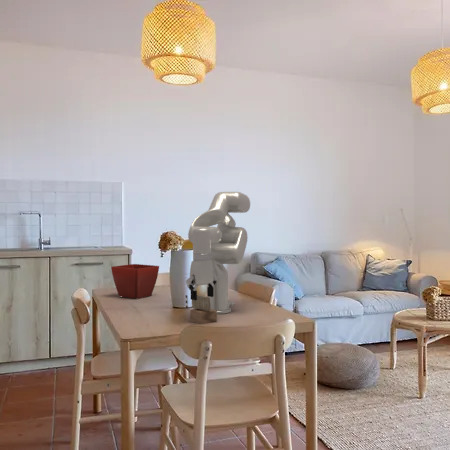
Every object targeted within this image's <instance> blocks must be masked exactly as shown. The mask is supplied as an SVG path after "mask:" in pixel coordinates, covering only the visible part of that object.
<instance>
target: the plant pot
mask: <svg viewBox="0 0 450 450" xmlns="http://www.w3.org/2000/svg"><path fill="white" fill-rule="evenodd" d="M159 269H160V265H151V264H140V263H139V264H138V263H132V264H123V265H122V264H121V265H115V266H111V275H112V279H113V282H114V285H115V289H116V291H117V295H118V297H119V296H122V297H121V298H125V297H129V298H128V299H132V298H138V299H142V298H141V297H143V298H147V297H146V296H148V297H151V296H152V294H153V293H154V292H153V291H154V289H155V286H156V283H157V279H158V274H159V272H160V271H159Z"/></svg>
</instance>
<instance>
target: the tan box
mask: <svg viewBox="0 0 450 450" xmlns="http://www.w3.org/2000/svg"><path fill="white" fill-rule="evenodd" d="M189 313H190V314H189V322H192V323H194V324H197V323H198V325H207V324H216V323H217V322H218V314H217V311H216V310H212V309H210V311H204V310H200V309H194V308H192V309H190V311H189Z"/></svg>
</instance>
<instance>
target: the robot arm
mask: <svg viewBox="0 0 450 450" xmlns="http://www.w3.org/2000/svg"><path fill="white" fill-rule="evenodd" d="M250 208H251V200H250V197H249V196H248V195H246V194H244V193H242V192H241V191H219V192H217V193H215V194H214V196H213V198H212V201H211V203H210V206H209V208H208V210H206V211H205V212H202V213H201V214H199V215H198V216H196V217H195V218H194V220H193V221H192V222H191V225H190V227H189V228H188V234H187V235H188V237H187V238H188V240H189V242H190V243H191V244H192V260H191V264H190V267H189V268H190V269H189V278H187V279H186V280H185V284H186V286H187V288H188V289H189V291H190V300H191V301H192V300H197V295H198V290H197V288H198V286H205V285H207V287H206V288H207V289H206V291H207V293H206V294H207V296H206V297H209V298H210V305H211V309H212V310H216V311H217V315H220V314H222V315H223V314H229V313H231V312H232V308H231V307H230V306H235V301H233V300H232V301H230V300H229V273H228V270H227V268H226V267H225V265H239V264H241V263H242V261H243V259H244V255H245V252H246V248H247V245H248V244H247V243H248V239H249V238H248V231H247V230H246V229H245V227H241V226H236V224H237V223H236V221H235V218H233V217H232V216H231V215H230V213H232V214H235V213H238V214H241V213H248V212H249V210H250ZM216 225H217V226H216Z"/></svg>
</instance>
